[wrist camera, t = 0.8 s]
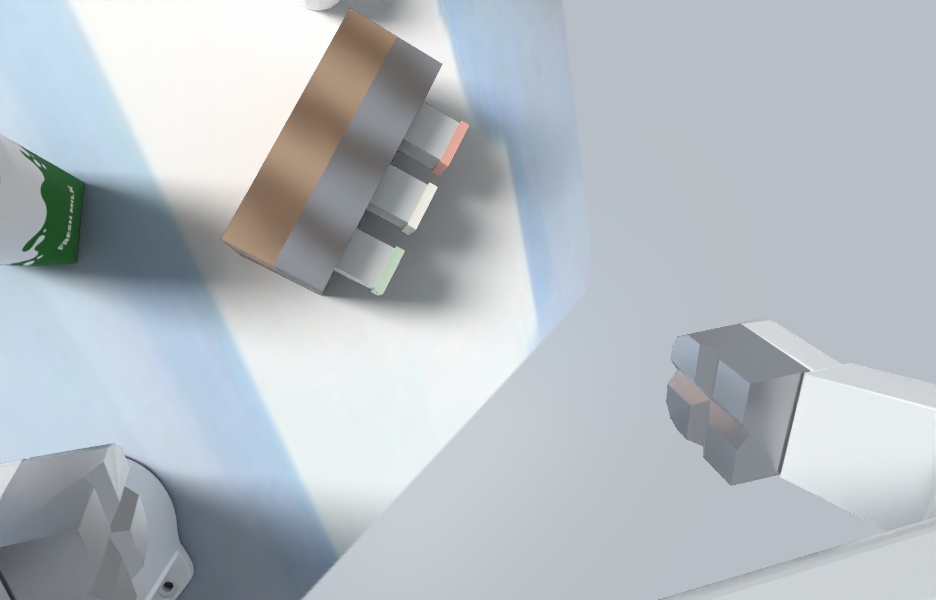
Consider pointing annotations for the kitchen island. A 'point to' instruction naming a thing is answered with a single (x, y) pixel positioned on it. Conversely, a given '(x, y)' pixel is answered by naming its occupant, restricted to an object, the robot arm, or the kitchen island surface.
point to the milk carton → (37, 209)
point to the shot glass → (317, 4)
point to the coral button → (433, 138)
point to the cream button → (401, 199)
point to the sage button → (369, 261)
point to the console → (332, 153)
